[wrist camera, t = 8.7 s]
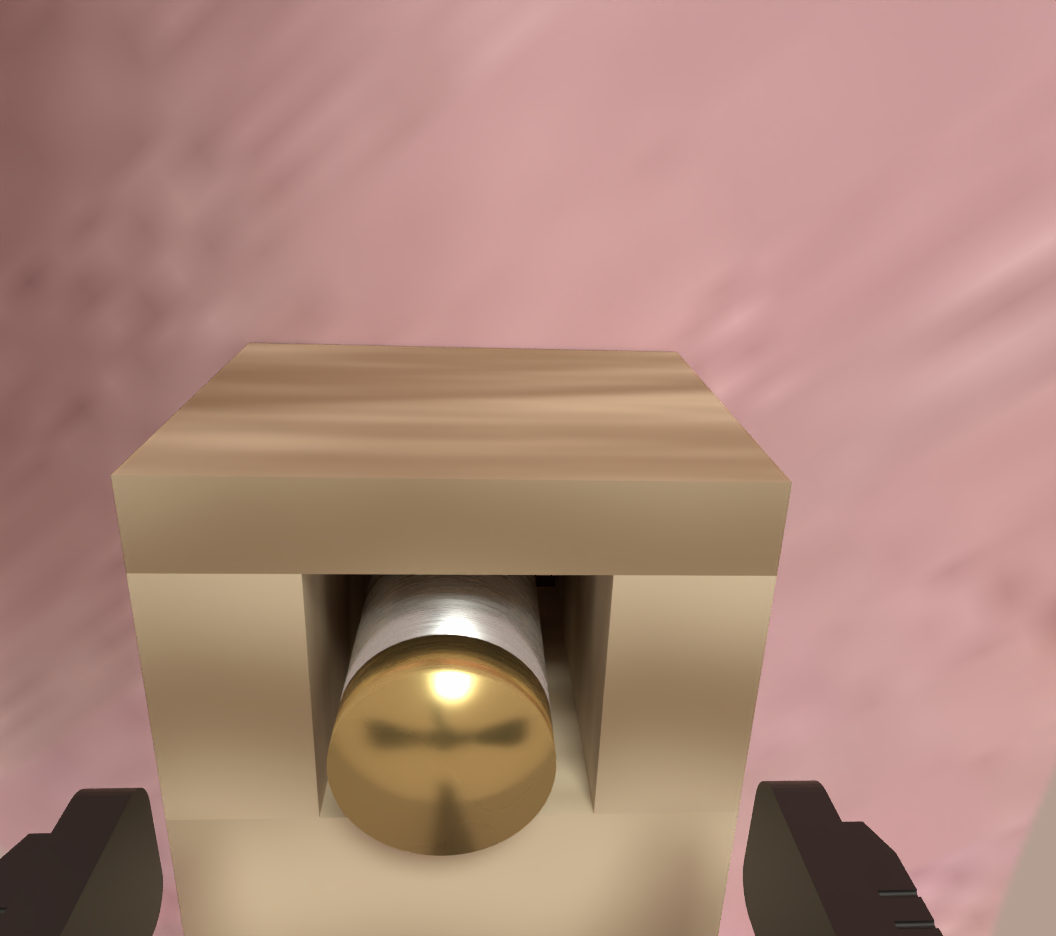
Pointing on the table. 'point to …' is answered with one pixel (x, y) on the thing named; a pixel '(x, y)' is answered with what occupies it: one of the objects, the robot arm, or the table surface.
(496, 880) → the block
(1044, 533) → the table surface
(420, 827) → the pin
